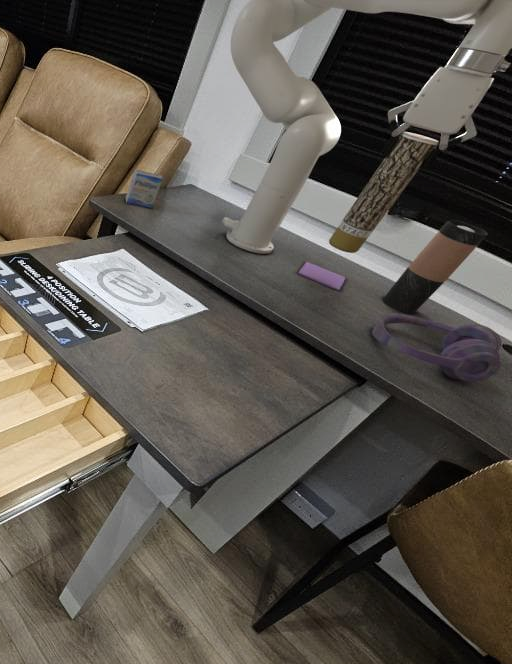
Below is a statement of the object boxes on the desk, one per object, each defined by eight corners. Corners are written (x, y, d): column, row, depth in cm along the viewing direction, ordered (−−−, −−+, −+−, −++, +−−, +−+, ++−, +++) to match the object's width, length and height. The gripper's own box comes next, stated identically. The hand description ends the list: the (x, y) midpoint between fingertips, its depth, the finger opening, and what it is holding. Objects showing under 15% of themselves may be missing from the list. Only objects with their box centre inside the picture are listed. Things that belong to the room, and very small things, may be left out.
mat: (297, 273, 116) (298, 272, 115) (305, 262, 122) (306, 261, 122) (338, 290, 112) (339, 289, 111) (344, 278, 118) (345, 277, 118)
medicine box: (125, 203, 135) (136, 173, 129) (125, 198, 138) (135, 168, 132) (151, 208, 135) (163, 179, 129) (150, 203, 138) (161, 174, 132)
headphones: (485, 360, 95) (373, 326, 106) (513, 326, 90) (393, 293, 101) (481, 397, 84) (357, 355, 95) (513, 361, 79) (378, 320, 90)
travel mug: (422, 317, 108) (496, 238, 94) (390, 309, 108) (459, 229, 95) (407, 300, 114) (475, 224, 100) (376, 293, 114) (440, 216, 101)
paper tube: (331, 238, 115) (405, 130, 98) (359, 250, 112) (441, 140, 95) (324, 244, 111) (400, 132, 94) (352, 256, 108) (437, 143, 91)
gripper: (526, 74, 85) (448, 173, 97) (422, 53, 92) (362, 147, 104) (530, 75, 80) (448, 178, 92) (421, 52, 87) (357, 151, 99)
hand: (403, 161), depth 98 cm, fingers closed on paper tube, 6 cm apart
